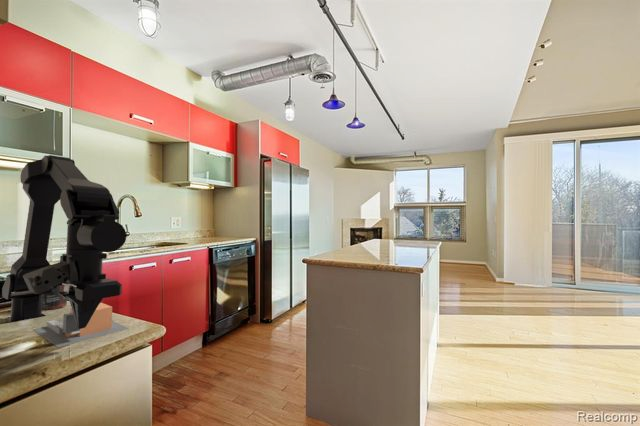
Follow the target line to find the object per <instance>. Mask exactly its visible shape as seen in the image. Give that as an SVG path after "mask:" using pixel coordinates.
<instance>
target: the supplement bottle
mask: <svg viewBox="0 0 640 426" xmlns="http://www.w3.org/2000/svg"><path fill="white" fill-rule="evenodd" d="M59 292H64V285H59V286H57V287H56V288H53V290H52V293H50V294H49V293H48V294H43V298H42V311H43V310H44V311H47V310H56V309H61V308H64V307H66V306H67V304H68V300H67V299H66V298H64V297H63V296H61V295H59V294H58V293H59Z"/></svg>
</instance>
